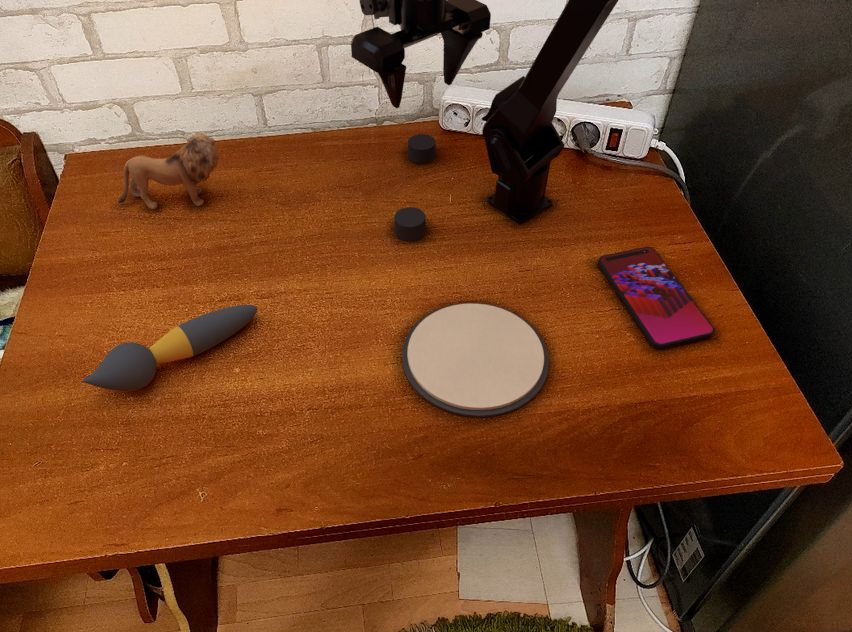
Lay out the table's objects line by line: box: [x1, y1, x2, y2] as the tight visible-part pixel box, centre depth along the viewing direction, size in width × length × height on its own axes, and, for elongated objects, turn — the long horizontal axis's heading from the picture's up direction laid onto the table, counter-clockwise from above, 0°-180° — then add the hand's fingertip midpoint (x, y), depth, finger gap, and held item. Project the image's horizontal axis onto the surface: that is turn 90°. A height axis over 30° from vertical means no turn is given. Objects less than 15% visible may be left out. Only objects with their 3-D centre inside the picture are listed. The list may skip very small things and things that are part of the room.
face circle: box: [401, 302, 550, 418], centre depth 75 cm, size 16×16×1 cm
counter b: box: [393, 206, 427, 242], centre depth 88 cm, size 4×4×2 cm
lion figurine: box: [117, 132, 220, 210], centre depth 90 cm, size 15×5×9 cm, turn 103°
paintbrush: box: [80, 304, 258, 392], centre depth 74 cm, size 20×5×5 cm, turn 134°
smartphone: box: [597, 246, 716, 350], centre depth 80 cm, size 8×1×15 cm
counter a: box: [407, 133, 437, 165], centre depth 99 cm, size 4×4×2 cm
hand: (422, 95), depth 92 cm, fingers open, 9 cm apart
